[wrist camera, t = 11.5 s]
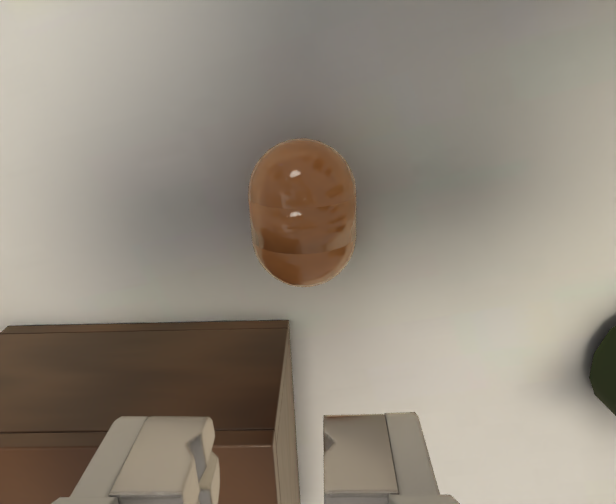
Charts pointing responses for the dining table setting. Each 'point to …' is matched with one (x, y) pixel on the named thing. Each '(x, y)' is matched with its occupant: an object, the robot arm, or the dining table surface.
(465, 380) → the dining table surface
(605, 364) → the character mug
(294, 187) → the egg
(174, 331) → the cabinet
